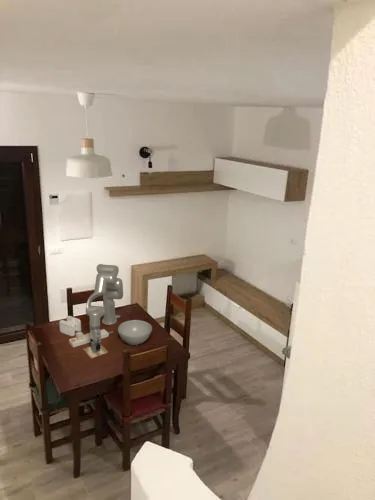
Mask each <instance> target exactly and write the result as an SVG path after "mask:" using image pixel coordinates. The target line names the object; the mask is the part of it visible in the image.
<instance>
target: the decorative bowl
mask: <svg viewBox="0 0 375 500" xmlns="http://www.w3.org/2000/svg"><path fill="white" fill-rule="evenodd" d="M117 331H118V334H119V336H120V338H121V339H122V341H123V342H125V343H127V344H128V345H130V346H133V345H136V346H139V345H138V344H140V343H141V344H143V343H144V342H146V341H147V340H148V338H149V337H150V336H151V334H152V331H153V326H152V324H151V323H149V322H147V321H144V320H140V319H133V320H132V319H131V320H126V321H124V322H121V323H120V324H119V325H118V327H117ZM141 344H140V345H141Z"/></svg>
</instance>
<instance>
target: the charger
mask: <svg viewBox="0 0 375 500" xmlns="http://www.w3.org/2000/svg"><path fill="white" fill-rule="evenodd" d="M97 341H98V340H97ZM98 343H99V342H97V344H98ZM90 346H91V350H92V351H93V352H94V353H95V352H98V351H100V349H99V350H96V342H94V341H91V342H90Z"/></svg>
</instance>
